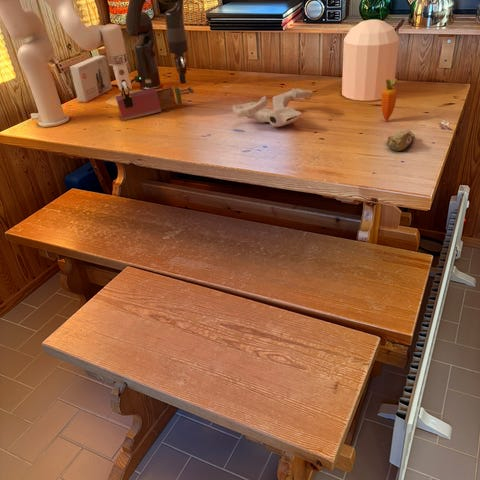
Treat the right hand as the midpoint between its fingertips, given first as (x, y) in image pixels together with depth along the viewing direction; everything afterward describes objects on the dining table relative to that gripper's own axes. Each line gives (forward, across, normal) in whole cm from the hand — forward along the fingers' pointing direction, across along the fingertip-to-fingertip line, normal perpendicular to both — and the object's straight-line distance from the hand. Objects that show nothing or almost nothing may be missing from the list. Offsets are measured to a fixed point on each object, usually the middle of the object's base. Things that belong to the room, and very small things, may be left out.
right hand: (183, 83), depth 193 cm
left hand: (+5, 0, +24) cm, 25 cm away
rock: (+8, -78, -53) cm, 95 cm away
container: (+9, -27, -72) cm, 77 cm away
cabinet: (+9, 0, +20) cm, 22 cm away
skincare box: (+10, +40, +35) cm, 54 cm away
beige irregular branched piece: (+9, -41, -26) cm, 50 cm away
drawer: (+8, 0, +7) cm, 10 cm away
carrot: (+8, -58, -61) cm, 84 cm away
